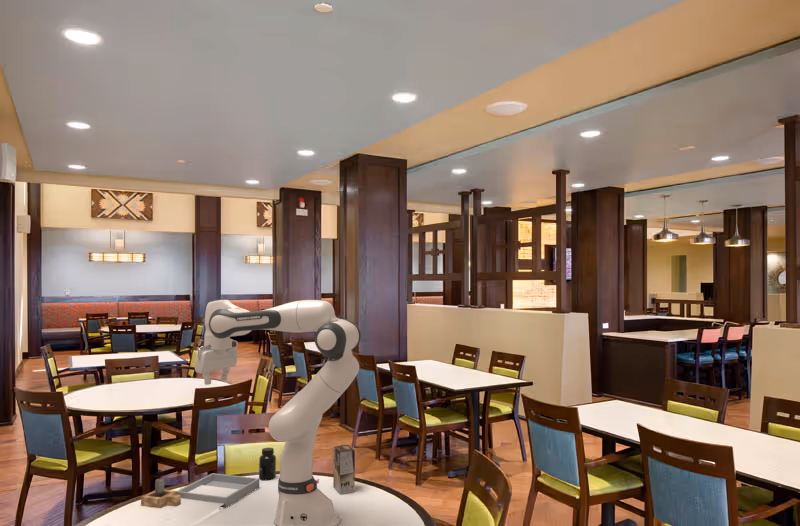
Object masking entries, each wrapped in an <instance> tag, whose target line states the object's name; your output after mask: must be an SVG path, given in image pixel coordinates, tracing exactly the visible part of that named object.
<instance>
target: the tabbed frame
mask: <svg viewBox="0 0 800 526" xmlns="http://www.w3.org/2000/svg"><path fill="white" fill-rule="evenodd" d="M181 502H182V498H181V495H178V490H171V489H165V488H164V496H162V497H155V490H153V491H151V492H148V493H146V494H144V495H142V496H141V497H140V506H142V507H148V506H149V507H148V508H157V509H162V508H163V507H165V506H172V507H177V506H179V505H181V504H182V503H181Z"/></svg>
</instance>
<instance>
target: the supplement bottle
mask: <svg viewBox="0 0 800 526" xmlns="http://www.w3.org/2000/svg"><path fill="white" fill-rule="evenodd" d="M274 450H275V449H274V448H273V447H264V448H262V449H261V455H260V457H259V460H258V461H259V463H258V478H259V480H260V481H272V480H274V479H275V478H276V476H277V475H276V474H277V473H276V472H277V471H276V470H277V457H276V454H275V451H274ZM271 479H272V480H271Z"/></svg>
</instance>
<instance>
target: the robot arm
mask: <svg viewBox="0 0 800 526" xmlns="http://www.w3.org/2000/svg"><path fill="white" fill-rule="evenodd" d="M335 313H336V312H335V309H334V306H333V305H332V304H331V302H329V301H328V300H319V299H302V300H301V299H300V300H294V301H291V302H286V303H284V304H281V305H276V306H274V307H271V308H266V309H262V310H256V311H250V310H249V309H245V308H241V307H240V306H237V305H236V304H233V303H232V302H231V301H230V300H229V299H226V298H224V299H221V298H220V299H214V300H211V301H209V302H208V303H207V304H206V308H205V314H204V327H205V332H204V337H203V338H204V342H203V343H204V344H203V345H202V346H200V347H199V348H198V350H197V352H196V356H195V362H194V371H195V372H196V374H202V377H203V380H204V381H203V382H204V385H205V386H208V385H211V384H212V379H211V378H210V374H211V372H215V371H219V370H222V374H221V376H220V381H223V382H225V381H227V380H228V375H229V372H230V370H231V369H230V368H234V367H236V366H237V362H238V349H237V347H239V346H238V345H239V343H238V341H237V340H234V339H232V338H231V337H237V336H239V337H240V336H245V335H247V334H249V333H251V332H252V331H257V330H259V331H260V330H265V331H266V330H268V331H276V332H286V333H310V332H315V334H314V344H315V346H316V349H317V350H318V351H319V352H320V353H321V356H322V357H323V359H324V360H326V362H325V364H324V365H323V366H322V367H321V368H320V369H319V370H318V371H317V373H316V374H315V375H314V376H313V377H312V378H311V379H310V380H309V382H308V383H307V384H306V385H305V386H304V387H303V388H302V389H301V390H299V392H297V393H296V394H295V395H294V396H293V397H292V398H291V399H289V401H287V402H286V403H285V404H284V405H283V406H282V407H281V408H280V409H279V410H278V411H277V412H276V413H274V414H273V415H272V416H271V418H270V419H269V422H268V432H269V434H270V436H271V437H272V438H273V439H274V441H277V442H278V443H284V445H283V447H282V450H281V452H280V454H279V478H278V483H277V484H278V485H277V492H278V499H277V500H278V501H277V502H278V503H277V509H276V513H275V517H274V520H273V523H274V524H275V525H276V526H338V525H339V524H340V522H341V520H342V517H341V516H342V515H341V514H340V513H336V512H335V507H334V503H333V501H332V499H331V498H329V497H328V496H327V495H326V494H325V493H324V492H323V491H321V489H319V488H318V484H319V483H320V479H319V478H318V479H315V477H314V475H313V464H314V462H313V459H314V458H313V456H314V450H315V449H314V448H315V443H316V438H317V434H318V429H319V427H320V424H321V422H322V420H323V419H322V418H323V415H324V413H326V412H327V411H328V410H329V409H330V408H331V407H332V406H333V405H334V404H335V402H336V401H337V400H338V399H339V398H340V397H341V396H342V395H343V393H344V392H346V390H347V389H348V388H349V387H350V386H351V384H352V383H353V381H354V380H355V379H356V377H357V375H358V374H359V371H360V364H359V361H358V359H357V358H356V357H355V356H354V354H353V351H354V349H356V348H357V347H358V345H360V343H361V341H362V330H361V329H360V327H359V326H358V325H357V324H356V323H354V322H353V321H351V320H349V319H347V318H345V317H343V316H338V317H337V316H336V314H335Z"/></svg>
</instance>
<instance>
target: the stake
mask: <svg viewBox="0 0 800 526" xmlns="http://www.w3.org/2000/svg"><path fill="white" fill-rule="evenodd" d="M154 488H155V489H154V491H155V497H162V496H164V489H165V478H157V479H155V483H154ZM147 507H148V508H150V507H149V506H147Z"/></svg>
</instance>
